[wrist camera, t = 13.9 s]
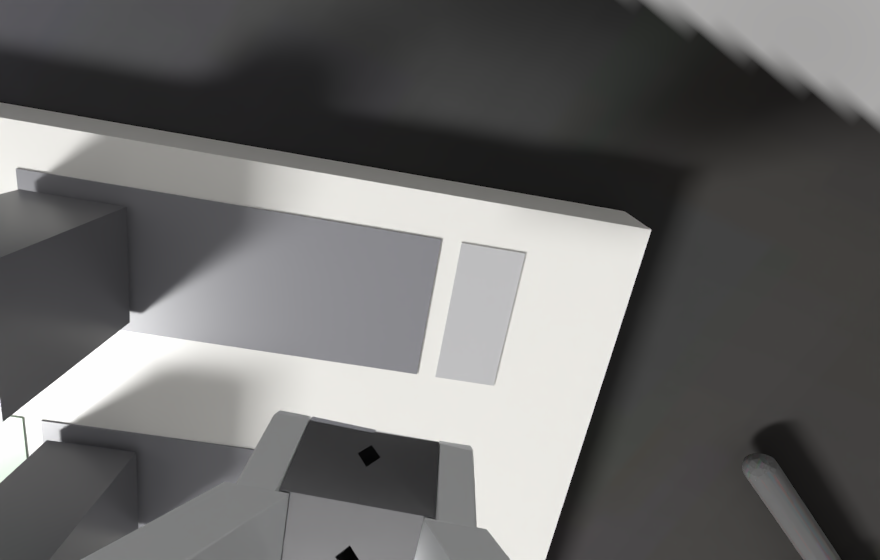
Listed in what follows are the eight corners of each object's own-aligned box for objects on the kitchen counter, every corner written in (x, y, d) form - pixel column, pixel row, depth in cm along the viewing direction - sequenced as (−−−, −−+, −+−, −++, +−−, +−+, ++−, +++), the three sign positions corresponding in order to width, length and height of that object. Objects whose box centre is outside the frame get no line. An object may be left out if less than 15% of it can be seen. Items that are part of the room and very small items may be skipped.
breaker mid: (136, 452, 15) (27, 585, 11) (138, 534, 16) (40, 684, 12) (46, 439, 15) (-96, 571, 11) (54, 524, 16) (-73, 672, 12)
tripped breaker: (126, 206, 12) (-18, 264, 8) (129, 322, 13) (2, 422, 10) (19, 188, 12) (-178, 239, 8) (31, 307, 13) (-141, 402, 9)
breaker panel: (624, 211, 15) (652, 230, 13) (481, 687, 22) (486, 746, 20) (-134, 78, 14) (-228, 78, 12) (-32, 630, 20) (-80, 687, 18)
